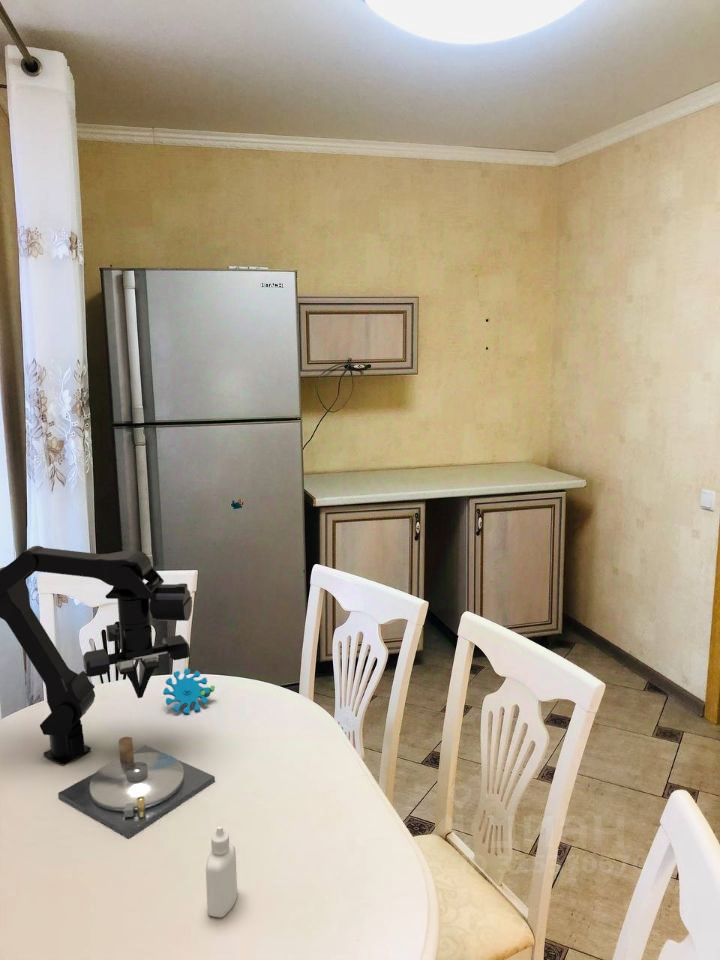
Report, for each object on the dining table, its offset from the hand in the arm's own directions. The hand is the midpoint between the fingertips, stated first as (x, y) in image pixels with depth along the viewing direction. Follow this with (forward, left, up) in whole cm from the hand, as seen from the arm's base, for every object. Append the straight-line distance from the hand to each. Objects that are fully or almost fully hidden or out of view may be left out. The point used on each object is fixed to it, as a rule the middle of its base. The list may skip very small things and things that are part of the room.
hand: (139, 697), depth 138 cm
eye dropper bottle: (+40, -19, -12) cm, 46 cm away
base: (+8, -8, -12) cm, 17 cm away
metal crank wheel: (+9, -8, -11) cm, 16 cm away
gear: (-7, +19, -12) cm, 24 cm away
